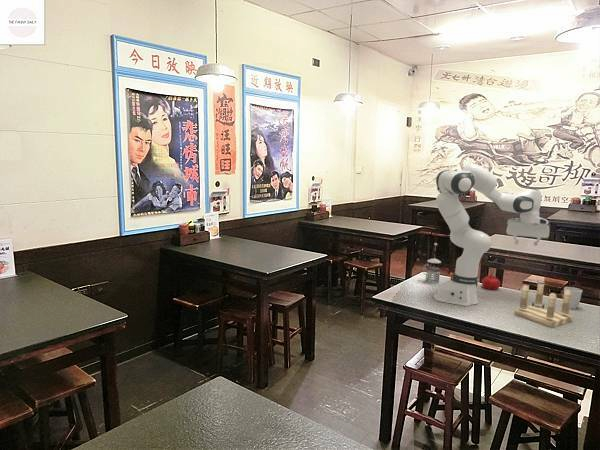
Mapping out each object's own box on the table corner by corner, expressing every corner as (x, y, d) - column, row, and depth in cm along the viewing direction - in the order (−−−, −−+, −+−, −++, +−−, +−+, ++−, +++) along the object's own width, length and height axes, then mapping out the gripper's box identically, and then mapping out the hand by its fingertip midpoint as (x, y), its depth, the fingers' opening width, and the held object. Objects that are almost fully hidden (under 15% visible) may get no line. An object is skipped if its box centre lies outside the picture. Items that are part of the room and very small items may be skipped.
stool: (551, 327, 192) (555, 295, 190) (513, 314, 208) (517, 284, 205) (572, 321, 201) (576, 290, 199) (534, 308, 217) (538, 279, 214)
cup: (582, 310, 217) (585, 292, 215) (565, 309, 218) (567, 290, 216) (575, 305, 224) (578, 287, 223) (559, 304, 226) (561, 286, 224)
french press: (444, 285, 252) (447, 244, 248) (427, 286, 249) (430, 244, 245) (434, 280, 262) (438, 241, 258) (418, 281, 259) (421, 241, 255)
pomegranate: (491, 292, 243) (492, 276, 242) (477, 286, 252) (479, 272, 250) (503, 290, 247) (505, 275, 246) (489, 285, 256) (491, 270, 254)
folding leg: (541, 304, 210) (544, 282, 208) (534, 303, 212) (537, 281, 210) (542, 303, 213) (545, 281, 211) (535, 301, 214) (538, 279, 213)
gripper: (509, 218, 224) (505, 243, 226) (552, 221, 218) (548, 247, 221) (506, 216, 230) (503, 241, 232) (548, 219, 224) (544, 245, 227)
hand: (525, 244), depth 226 cm, fingers open, 8 cm apart
